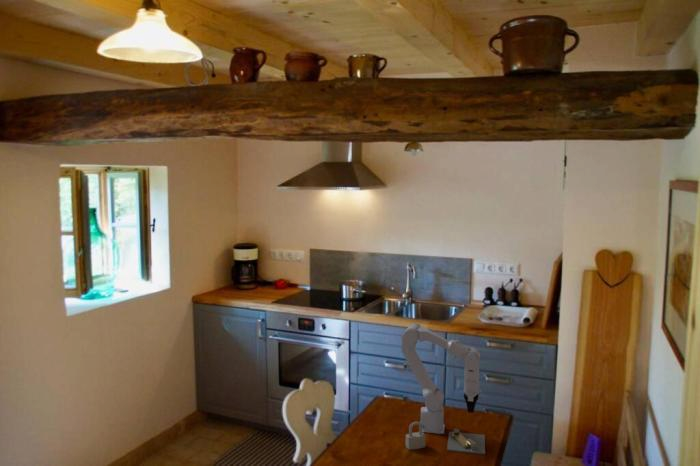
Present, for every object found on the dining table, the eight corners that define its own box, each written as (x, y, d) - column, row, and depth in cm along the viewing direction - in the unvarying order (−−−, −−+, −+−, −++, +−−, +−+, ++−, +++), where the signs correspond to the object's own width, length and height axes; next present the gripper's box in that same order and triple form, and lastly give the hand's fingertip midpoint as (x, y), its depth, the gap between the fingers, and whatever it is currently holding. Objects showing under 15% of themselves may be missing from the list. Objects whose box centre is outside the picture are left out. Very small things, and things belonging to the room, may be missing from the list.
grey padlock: (421, 443, 221) (421, 418, 220) (426, 447, 218) (426, 422, 217) (404, 446, 219) (404, 421, 218) (409, 450, 215) (409, 425, 214)
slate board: (447, 450, 215) (447, 449, 215) (449, 432, 230) (449, 431, 230) (485, 454, 212) (485, 453, 212) (484, 436, 227) (484, 434, 227)
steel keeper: (465, 445, 218) (465, 439, 218) (469, 444, 219) (470, 438, 218) (471, 450, 214) (471, 444, 214) (476, 449, 215) (476, 443, 215)
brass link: (450, 434, 227) (450, 432, 227) (458, 433, 228) (458, 430, 228) (463, 448, 216) (463, 445, 216) (472, 446, 217) (472, 444, 216)
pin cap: (453, 433, 225) (453, 430, 225) (453, 431, 227) (453, 428, 227) (459, 434, 224) (459, 431, 224) (459, 431, 226) (459, 428, 226)
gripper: (481, 386, 219) (480, 420, 220) (482, 373, 233) (481, 406, 234) (462, 384, 220) (462, 418, 222) (464, 372, 234) (463, 404, 236)
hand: (470, 412), depth 228 cm, fingers closed
